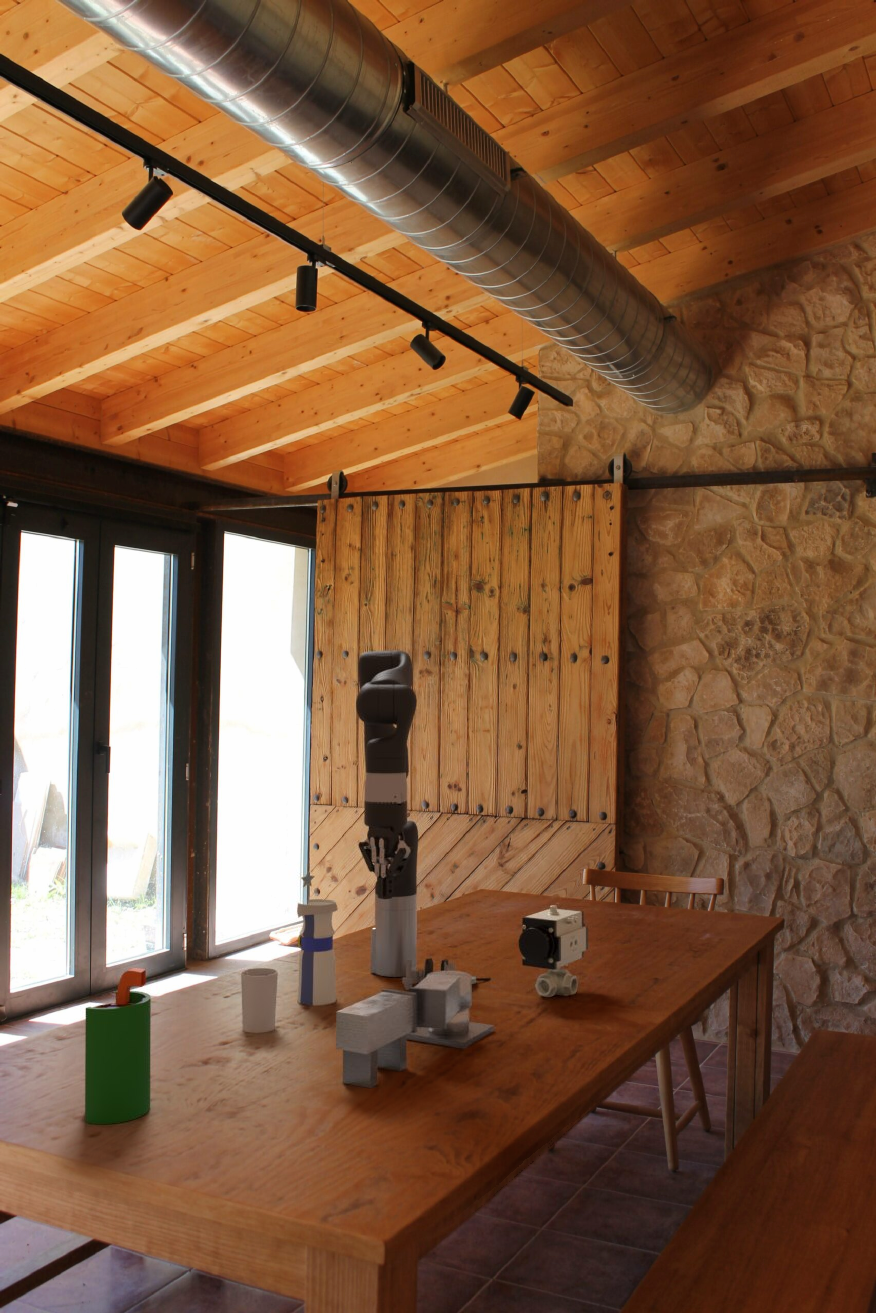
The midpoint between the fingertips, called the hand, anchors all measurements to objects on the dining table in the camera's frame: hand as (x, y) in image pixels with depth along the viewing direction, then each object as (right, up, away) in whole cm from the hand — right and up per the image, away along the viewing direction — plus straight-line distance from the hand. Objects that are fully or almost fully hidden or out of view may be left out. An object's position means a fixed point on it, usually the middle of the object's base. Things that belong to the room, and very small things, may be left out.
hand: (385, 898), depth 190 cm
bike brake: (+11, -27, +38) cm, 48 cm away
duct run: (-1, -24, -19) cm, 30 cm away
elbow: (+10, -19, -2) cm, 22 cm away
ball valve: (+33, -27, +32) cm, 54 cm away
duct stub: (+11, -25, +3) cm, 27 cm away
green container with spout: (-36, -23, -35) cm, 55 cm away
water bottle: (-15, -26, +26) cm, 40 cm away
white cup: (-23, -25, +7) cm, 35 cm away
